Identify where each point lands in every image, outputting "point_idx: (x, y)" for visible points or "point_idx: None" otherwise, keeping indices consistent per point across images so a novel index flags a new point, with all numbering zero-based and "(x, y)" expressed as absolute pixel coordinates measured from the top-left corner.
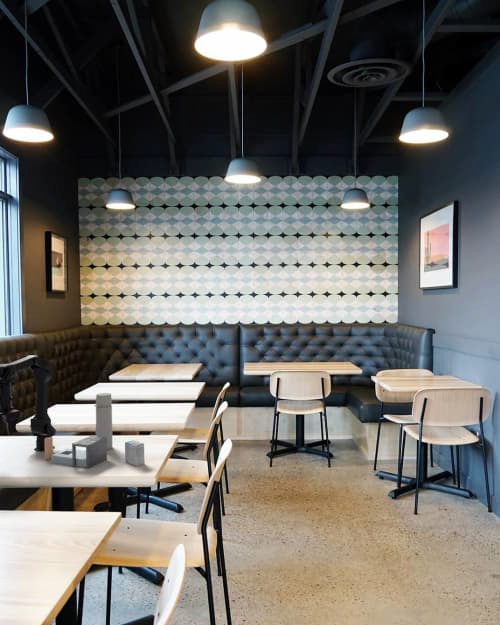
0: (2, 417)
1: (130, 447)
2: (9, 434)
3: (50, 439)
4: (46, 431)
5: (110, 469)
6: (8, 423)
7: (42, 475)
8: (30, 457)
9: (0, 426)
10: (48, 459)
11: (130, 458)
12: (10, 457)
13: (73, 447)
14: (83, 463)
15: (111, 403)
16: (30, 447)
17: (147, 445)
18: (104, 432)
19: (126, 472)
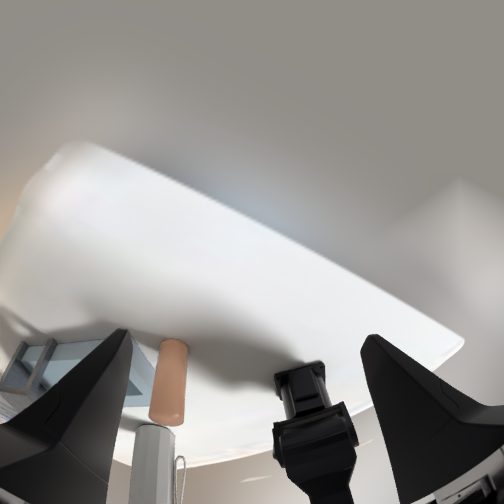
0: (408, 465)
1: (4, 410)
2: (115, 336)
3: (149, 415)
4: (277, 439)
5: (2, 353)
6: (9, 429)
7: (20, 245)
8: (257, 327)
9: (380, 380)
10: (161, 344)
11: None
12: (334, 285)
13: (27, 384)
14: (33, 352)
15: None
16: (356, 362)
17: (117, 448)
18: (133, 465)
19: None
